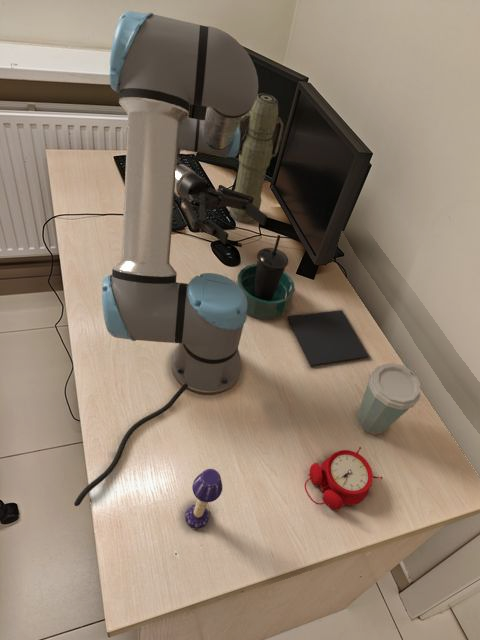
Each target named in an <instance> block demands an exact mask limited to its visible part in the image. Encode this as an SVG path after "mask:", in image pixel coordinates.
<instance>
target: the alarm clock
mask: <svg viewBox="0 0 480 640" xmlns="http://www.w3.org/2000/svg"><path fill="white" fill-rule="evenodd" d="M361 449H362V447H361V446H359V447H358V449H357V451H353V450H350V449H349V450H348V449H342V450H338V451H335V452H334V453H332V454H331V455H330V456H328V457H327V458H325V459H324V460H323V461H322V463H321V464H319V463H318V462H314V463H312V464H311V465H310V466H309V472H308V475H307V476H308V477H309V478H307V480H306V481H305V482H304V491H305V492H306V495H307V497H308V498H309V499H310V501H312V503H314V504H315V505H320V506H321V505H326V506H327V507H328V508H330V510H333V511H340V510H342V509H343V507H344V506H349V507H350V506H356V505H358V504H361V503H362V502H363V501H364V500H365V499H366V497H368V495H369V493H370V489H371V487H372V484H373V479H380V480H383V476H374V475H373V470H372V467H371V465H370V464H369V462H368V460H367V459H366V458H365V457H364V456H363V455H361V454H360V453H359V452H360V450H361ZM309 480H310V482H311V484H312V485H313V486H314V487H315V486H317V487H319V486H320V490H321V491H323V494H322V501H323V502H317V501H315V500H314V499H313V498H312V497H311V495H310V494H309V492H308V489H307V483H308V482H309Z"/></svg>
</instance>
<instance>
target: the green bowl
mask: <svg viewBox="0 0 480 640" xmlns="http://www.w3.org/2000/svg"><path fill="white" fill-rule="evenodd" d="M256 269H257V263H253V264H249V265H246V266H245V267H243V268H241V269H240V271H239V272H238V274H237V277H236V282H235V283H236V285H238V286H239V287H241V289H242V290H243V291H244V293H245V295H246V298H247V312H246V315H248V316H250V317H252V318H257V319H260V320H275V319H279V318H282V317H283V315H285V314H286V313H288V311H289V308H290V305H291V303H292V300H293V296H294V293H295V290H296V288H295V282H294V281H293V279H292V277H291V276H290V275H289V274H288V273H287V272H285V271H284V272H283V274H282V276H281V279H280V281H279V283H278V286H277V288H276V290H275V293H274V295H273V297H272V300H271V301H265V300H261V299H258V298H256V297H254V296H253V291H254V284H255V276H256Z"/></svg>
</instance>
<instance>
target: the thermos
mask: <svg viewBox="0 0 480 640" xmlns="http://www.w3.org/2000/svg"><path fill="white" fill-rule="evenodd" d="M246 120H247V121H246ZM245 121H246V129H245V133H244V135H243V129H244V124H245ZM276 125H278V127H277V130H276ZM238 127H239V129H240V144H239V150H238V162H239V164H238V171H237V176H236V182H235V187H234V189H233V191H236V192H239V193H242V194H245V195H248V196H251V197H253V198H254V200H253V205H254V206H255V207H257V208H258V209H259V210H260V209H261V205H262V192H263V187H264V183H265V179H266V173H267V169H268V168H269V167H270V165H271V164H270V163H271V160H272V159H273V158H275V157H277V155H278V151H279V147H280V143H281V138H282V135H283V130H284V127H285V125H284V122H283V120H282V118H281V117H280V116H279V102H278V99H277V98H276V97H274V96H273V95H271V94H268V93H264V92H263V93H258V94H257V97H256V100H255V102H254V105H253V106H252V108H251V110H250V111H249V112H248V113H247V114H245V115H244V116H243V117H242V119H241V121H240V124H239V126H238ZM275 131H277V132H276V136H275V141H274V142H273V140H274V133H275ZM242 136H243V137H242ZM245 211H246V210H241V209H236V208H231V207H230V209H229V216H230V217H231V218H232V219H233V220H234V221H236V222H237V223H241V224H252V223H254V222H257V221H256V220H254V219H253V218H252V217H250V216H249V215H248V214H246V213H245Z"/></svg>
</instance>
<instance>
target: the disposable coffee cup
mask: <svg viewBox="0 0 480 640" xmlns="http://www.w3.org/2000/svg"><path fill="white" fill-rule="evenodd" d="M420 398H421V381H420V379H419V378H418V376H417V375H416V374H415V373H414V372H413V371H412V370H411V369H409V368H408V367H406V366H405V365H402V364H397V363H394V362H391V363H385V364H382V365H378V366H377V367H376V368H375V369H374V370H373V371H372V372H370V374H369V375H368V383H367V385H366V388H365V391H364V395H363V398H362V401H361V403H360V407H359V409H358V410H359V411H358V415H357V421H358V423H359V426H360V427H361V429H363V430H364V431H365V432H366V433H370V434H372V435H377V434H381V433H384V432H385V431H386V430H387V429H388V428H390V427H391V426H392V425H393V424H394V423H395V422H396V421H397V420H399V418H401V417H402V416H403V415H404V414H405V413H407V411H409V410H410V409H412V408H414V407H415V406H416V404H418V402H419V401H420Z"/></svg>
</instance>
